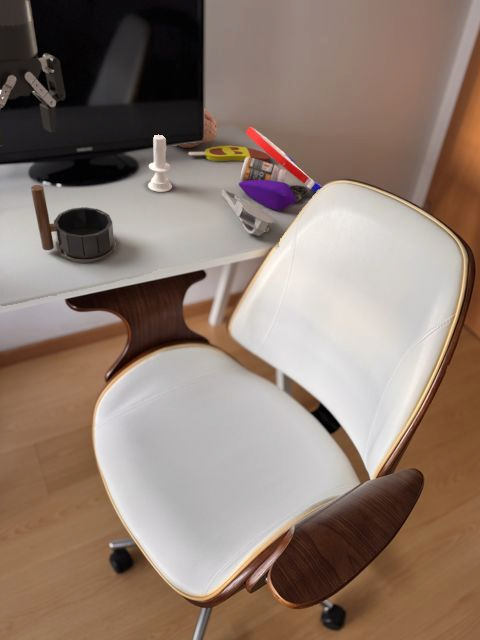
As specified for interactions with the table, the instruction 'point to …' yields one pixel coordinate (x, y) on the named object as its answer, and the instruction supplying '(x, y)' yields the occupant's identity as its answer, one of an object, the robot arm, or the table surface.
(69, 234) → the wooden handled pot
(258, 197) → the purple lump
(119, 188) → the table surface
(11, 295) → the table surface
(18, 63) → the robot arm
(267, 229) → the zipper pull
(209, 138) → the anatomical model
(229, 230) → the table surface
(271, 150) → the red toothbrush
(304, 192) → the corroded twin loop
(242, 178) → the pill bottle
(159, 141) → the candle
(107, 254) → the round base
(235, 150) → the popsicle
